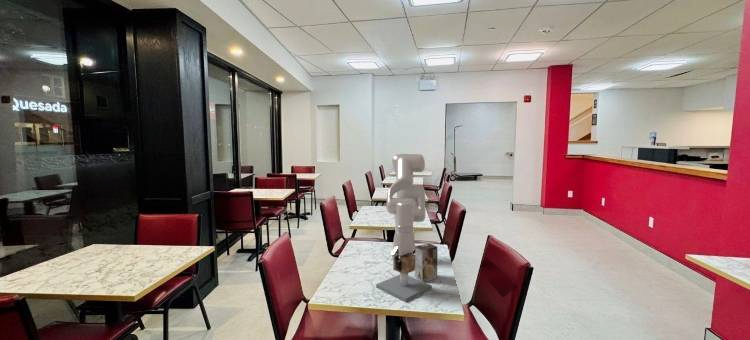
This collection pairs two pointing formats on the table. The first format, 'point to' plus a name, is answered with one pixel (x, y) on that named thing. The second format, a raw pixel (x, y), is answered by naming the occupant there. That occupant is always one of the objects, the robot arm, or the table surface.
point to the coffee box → (426, 262)
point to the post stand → (404, 287)
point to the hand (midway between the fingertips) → (404, 267)
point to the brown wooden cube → (406, 264)
